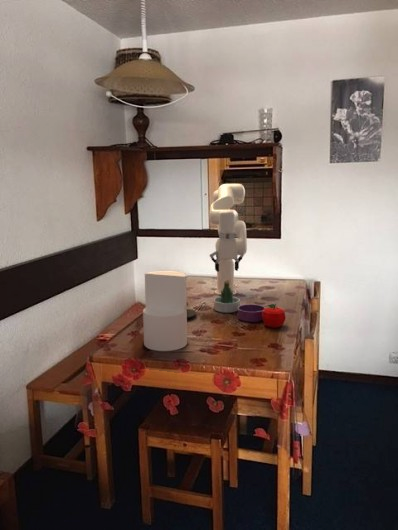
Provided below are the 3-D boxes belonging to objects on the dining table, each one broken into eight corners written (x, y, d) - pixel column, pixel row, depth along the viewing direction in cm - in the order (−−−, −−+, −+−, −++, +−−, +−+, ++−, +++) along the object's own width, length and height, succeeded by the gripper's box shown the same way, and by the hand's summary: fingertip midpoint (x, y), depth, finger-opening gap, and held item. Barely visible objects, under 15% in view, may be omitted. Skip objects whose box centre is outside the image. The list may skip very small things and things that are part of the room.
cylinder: (156, 333, 194) (154, 269, 189) (193, 338, 188) (193, 272, 183) (136, 347, 179) (133, 277, 173) (175, 353, 172) (174, 281, 167)
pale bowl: (224, 304, 238) (224, 295, 237) (244, 309, 230) (245, 299, 229) (208, 309, 229) (208, 300, 228) (228, 314, 220) (228, 304, 219)
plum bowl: (248, 312, 223) (248, 302, 222) (270, 317, 215) (271, 307, 214) (231, 318, 214) (232, 308, 213) (254, 324, 205) (254, 313, 204)
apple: (280, 321, 210) (280, 300, 208) (289, 328, 200) (290, 306, 198) (258, 322, 208) (258, 301, 206) (266, 330, 197) (266, 307, 195)
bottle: (225, 305, 233) (225, 279, 231) (235, 308, 229) (235, 280, 227) (218, 308, 229) (218, 281, 226) (227, 310, 225) (227, 283, 222)
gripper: (241, 234, 228) (241, 268, 231) (207, 236, 224) (208, 270, 227) (246, 236, 220) (246, 271, 223) (211, 237, 217) (211, 273, 220)
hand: (226, 270), depth 225 cm, fingers open, 9 cm apart
